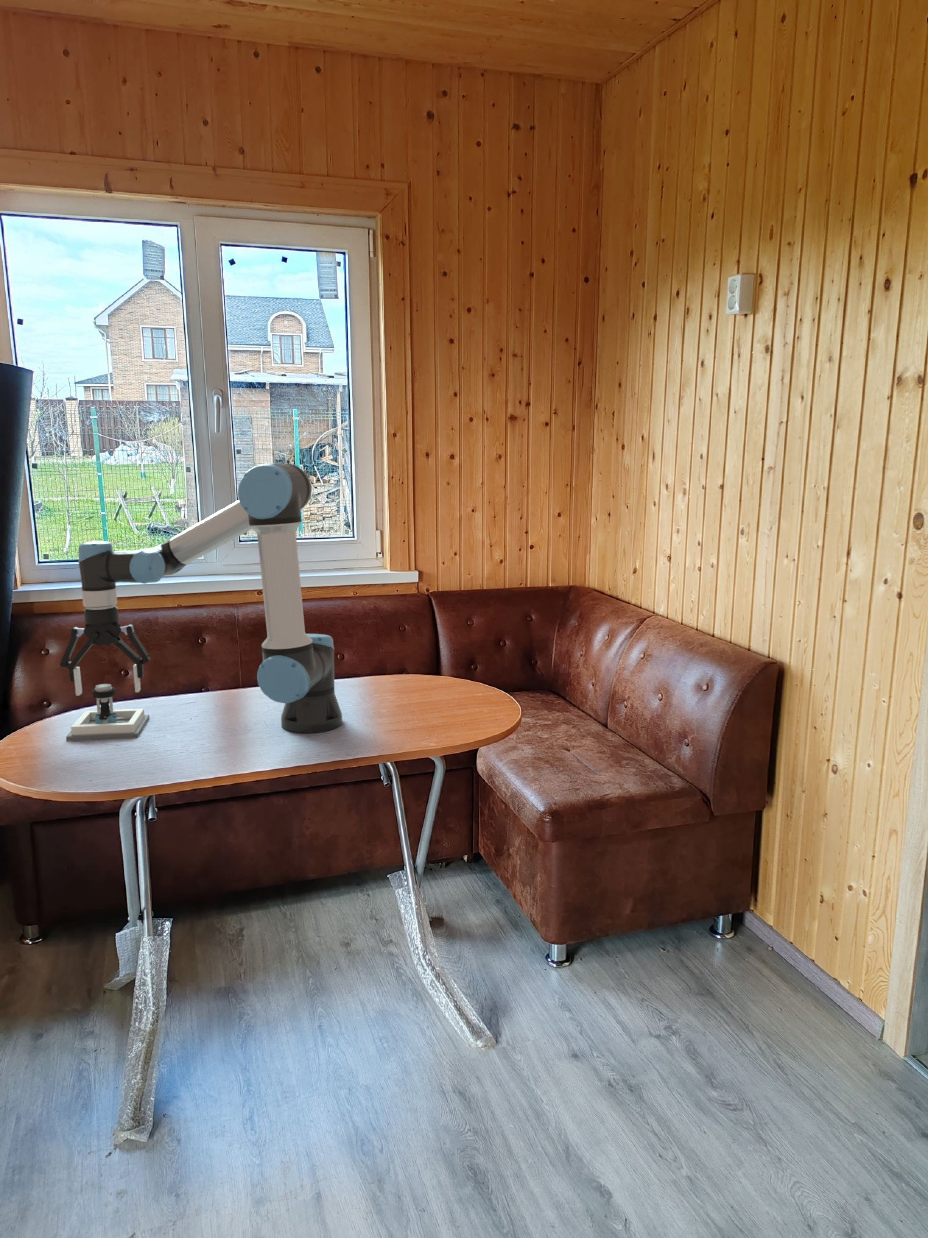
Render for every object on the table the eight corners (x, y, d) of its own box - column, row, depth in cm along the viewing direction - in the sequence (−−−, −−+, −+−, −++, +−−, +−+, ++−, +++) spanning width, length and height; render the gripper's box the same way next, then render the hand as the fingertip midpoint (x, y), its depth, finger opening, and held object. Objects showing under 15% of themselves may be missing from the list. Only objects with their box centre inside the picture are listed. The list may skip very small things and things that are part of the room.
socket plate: (149, 718, 216) (148, 707, 216) (137, 737, 202) (136, 725, 201) (83, 721, 214) (82, 709, 213) (66, 740, 199) (65, 728, 199)
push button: (124, 720, 211) (121, 681, 209) (123, 727, 206) (120, 687, 204) (95, 722, 209) (92, 683, 207) (93, 729, 204) (90, 689, 202)
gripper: (157, 602, 208) (164, 685, 212) (49, 606, 203) (58, 691, 207) (152, 607, 200) (159, 693, 204) (39, 611, 196) (49, 699, 200)
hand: (108, 692), depth 206 cm, fingers open, 13 cm apart
